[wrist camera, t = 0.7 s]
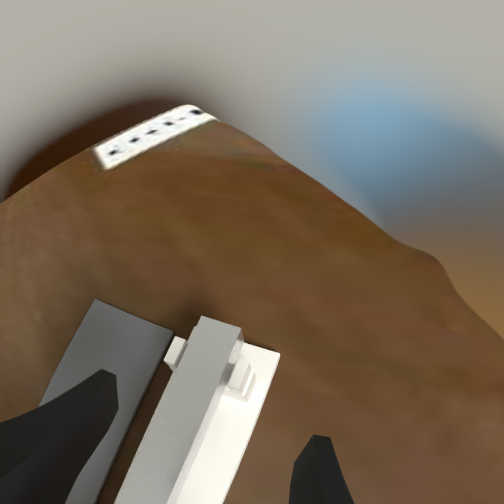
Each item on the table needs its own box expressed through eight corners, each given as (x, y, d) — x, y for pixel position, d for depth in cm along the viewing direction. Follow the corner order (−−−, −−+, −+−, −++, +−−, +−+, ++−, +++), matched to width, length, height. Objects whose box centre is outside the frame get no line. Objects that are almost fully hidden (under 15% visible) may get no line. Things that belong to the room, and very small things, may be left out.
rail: (125, 610, 9) (112, 619, 7) (91, 591, 10) (76, 597, 8) (244, 340, 23) (241, 328, 21) (207, 328, 24) (201, 315, 22)
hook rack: (168, 612, 12) (142, 639, 6) (90, 570, 14) (50, 584, 8) (280, 356, 27) (280, 328, 22) (197, 330, 29) (178, 296, 24)
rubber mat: (75, 553, 15) (73, 553, 14) (6, 493, 17) (4, 493, 17) (173, 332, 29) (172, 331, 29) (96, 300, 31) (95, 298, 31)
